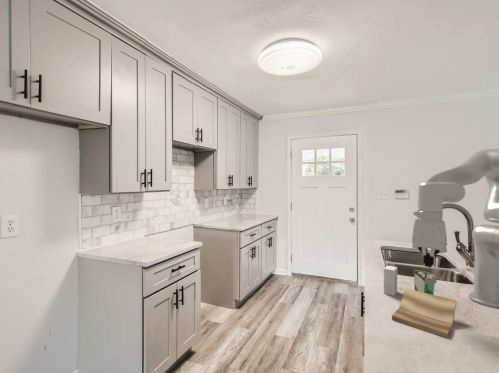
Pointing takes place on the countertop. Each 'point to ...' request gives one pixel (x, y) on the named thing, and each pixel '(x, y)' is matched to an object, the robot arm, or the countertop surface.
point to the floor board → (422, 322)
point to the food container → (424, 281)
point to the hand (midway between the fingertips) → (428, 266)
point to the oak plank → (428, 305)
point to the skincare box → (390, 280)
